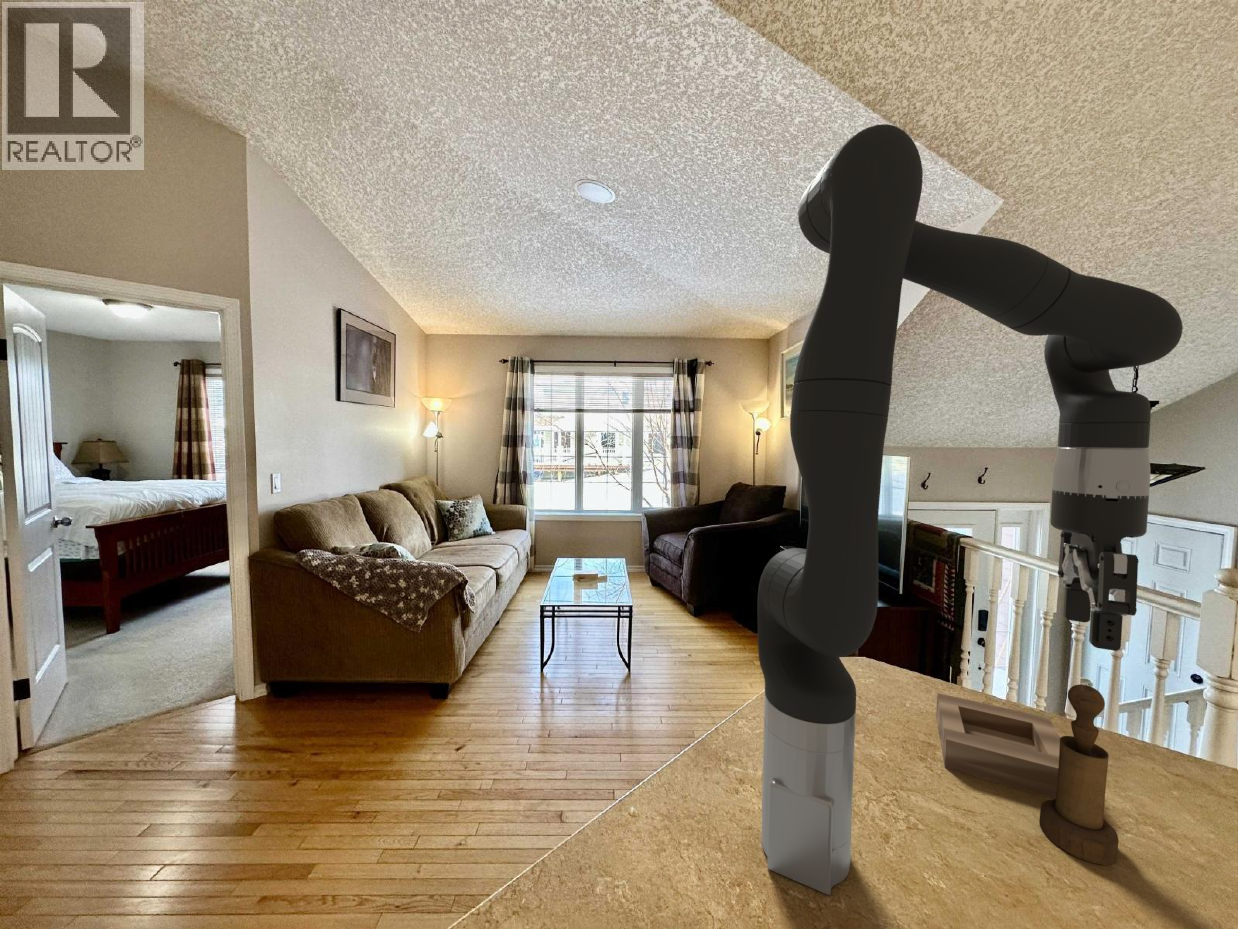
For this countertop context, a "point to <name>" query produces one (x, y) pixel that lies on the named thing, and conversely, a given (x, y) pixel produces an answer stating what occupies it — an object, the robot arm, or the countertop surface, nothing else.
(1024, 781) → the brown flat square frame
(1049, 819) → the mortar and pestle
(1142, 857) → the countertop surface
